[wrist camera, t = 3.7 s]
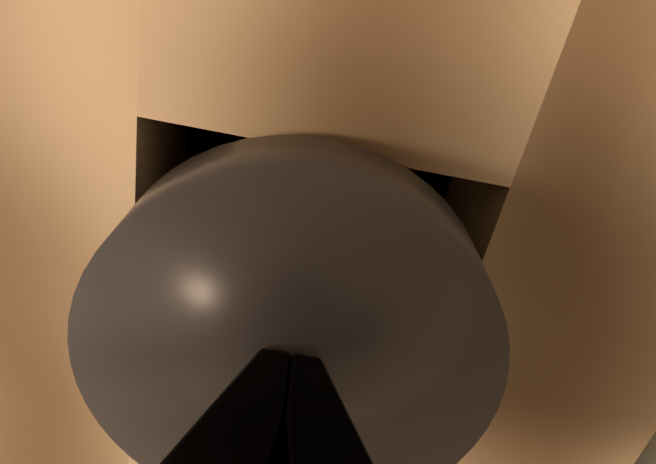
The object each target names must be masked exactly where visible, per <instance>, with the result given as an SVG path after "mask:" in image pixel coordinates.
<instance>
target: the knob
mask: <svg viewBox="0 0 656 464" xmlns="http://www.w3.org/2000/svg"><path fill="white" fill-rule="evenodd" d="M67 342H68V350H69V357H70V364H71V367H72V371H73V374H74V377H75V381H76V384H77V386H78V389H79V391H80V393H81V395H82V397H83V399H84V401H85V403H86V405H87V407H88V408H89V410H90V412H91V413H92V415H93V416H94V418H95V419H96V421H97V422H98V424H99V425H100V426H101V427H102V429H103V430H104V431H105V432H106V433H107V435H108V436H109V437H110V438H111V439H112V440H113V442H114V443H116V444H117V445H118V446H119V447H120V448H121V449H122V450H123V451H124V452H125V453H126V454H127V455H128V456H129V457H131V458H132V459H133V460H135V461H136V462H137V463H139V464H159V463H160V462H161V461H162V460H163V459H164V458H165V457H166V455H167V454H168V453H169V452H170V451H171V450H172V449H173V447H174V446H175V445H176V444H177V443H178V442H179V441H180V439H181V438H182V437H183V436H184V435H185V434H186V433H187V431H188V430H189V429H190V428H191V427H192V426H193V425H194V423H195V422H196V421H197V420H198V419H199V418H200V417H201V415H202V414H203V413H204V412H205V411H206V410H207V409H208V408H209V406H210V405H211V404H212V403H213V402H214V401H215V400H216V398H217V397H218V396H219V395H220V394H221V393H222V392H223V390H224V389H225V388H226V387H227V386H228V385H229V384H230V382H231V381H232V380H233V379H234V378H235V377H236V376H237V374H238V373H239V372H240V371H241V370H242V369H243V368H244V366H245V365H246V364H247V363H248V362H249V361H250V360H251V358H252V357H253V356H254V355H255V354H256V353H257V352H258V351H259V350H260V349H262V348H267V349H273V350H279V351H285V352H287V353H288V354H289V355H290V357H291V356H292V355H293V354H303V355H309V356H315V357H318V358H320V359H321V360H322V361H323V363H324V365H325V367H326V369H327V371H328V373H329V375H330V377H331V379H332V381H333V384H334V386H335V388H336V390H337V392H338V394H339V396H340V398H341V400H342V402H343V404H344V406H345V408H346V410H347V412H348V414H349V416H350V418H351V420H352V422H353V424H354V426H355V428H356V430H357V432H358V434H359V436H360V438H361V440H362V442H363V444H364V446H365V448H366V450H367V452H368V454H369V456H370V458H371V460H372V462H373V464H457V463H458V462H459V461H460V460H461V459H462V458H463V457H464V456H465V455H466V454H467V453H468V452H469V451H470V450H471V449H472V448H473V447H474V446H475V444H476V443H477V442H478V441H479V439H480V438H481V437H482V435H483V434H484V433H485V431H486V430H487V429H488V427H489V425H490V423H491V421H492V420H493V418H494V416H495V414H496V413H497V411H498V408H499V405H500V403H501V400H502V397H503V395H504V392H505V389H506V383H507V378H508V373H509V366H510V343H509V336H508V330H507V323H506V319H505V316H504V313H503V310H502V307H501V305H500V302H499V299H498V296H497V294H496V292H495V290H494V287H493V285H492V283H491V281H490V278H489V276H488V274H487V272H486V269H485V267H484V265H483V263H482V260H481V258H480V256H479V254H478V251H477V249H476V247H475V245H474V243H473V241H472V239H471V237H470V235H469V233H468V231H467V229H466V228H465V226H464V224H463V222H462V221H461V220H460V218H459V217H458V216H457V214H456V213H455V212H454V210H453V209H452V208H451V206H450V205H449V204H448V203H447V202H446V201H445V200H444V199H443V198H442V197H441V196H440V195H439V194H438V193H437V192H436V191H435V190H434V189H433V188H432V187H431V186H430V185H429V184H428V183H426V182H425V181H424V180H422V179H421V178H420V177H418V176H417V175H416V174H414V173H413V172H412V171H410V170H409V169H407V168H405V167H404V166H402V165H400V164H398V163H397V162H395V161H393V160H391V159H389V158H388V157H386V156H383V155H381V154H378V153H376V152H373V151H371V150H368V149H366V148H363V147H361V146H358V145H354V144H350V143H346V142H342V141H339V140H335V139H330V138H322V137H315V136H307V135H270V136H262V137H254V138H247V139H242V140H238V141H235V142H231V143H227V144H223V145H220V146H217V147H214V148H212V149H209V150H207V151H205V152H202V153H200V154H198V155H195V156H193V157H191V158H190V159H188V160H186V161H185V162H183V163H181V164H179V165H178V166H176V167H174V168H173V169H171V170H170V171H169V172H167V173H166V174H165V175H164V176H162V177H161V178H160V179H159V180H158V181H156V182H155V183H154V184H153V185H152V186H151V187H150V188H149V189H148V190H147V191H146V192H145V193H144V194H143V196H142V197H141V198H140V199H139V200H138V201H137V202H136V203H135V205H134V206H133V207H132V208H131V209H130V211H129V212H128V213H127V214H126V215H125V217H124V218H123V219H122V220H121V222H120V223H119V224H118V225H117V226H116V228H115V229H114V230H113V231H112V232H111V234H110V235H109V236H108V237H107V238H106V240H105V241H104V242H103V243H102V245H101V246H100V247H99V248H98V249H97V251H96V252H95V254H94V255H93V257H92V258H91V260H90V261H89V263H88V265H87V266H86V268H85V269H84V271H83V273H82V275H81V277H80V280H79V282H78V285H77V287H76V290H75V292H74V294H73V298H72V303H71V308H70V312H69V317H68V337H67Z"/></svg>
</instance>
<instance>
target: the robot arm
mask: <svg viewBox="0 0 656 464" xmlns="http://www.w3.org/2000/svg"><path fill="white" fill-rule="evenodd" d="M159 464H373V462H372V460H371V458H370V456H369V454H368V452H367V450H366V448H365V446H364V444H363V442H362V440H361V438H360V436H359V434H358V432H357V430H356V428H355V426H354V424H353V422H352V420H351V418H350V416H349V414H348V412H347V410H346V408H345V406H344V404H343V402H342V400H341V398H340V396H339V394H338V392H337V390H336V388H335V386H334V384H333V381H332V379H331V377H330V375H329V373H328V371H327V369H326V367H325V365H324V363H323V361H322V360H321V359H320V358H318V357H315V356H309V355H303V354H293V355H292V356H291V357H290V355H289V354H288V353H287V352H285V351H279V350H273V349H267V348H262V349H260V350H259V351H258V352H257V353H256V354H255V355H254V356H253V357H252V358H251V360H250V361H249V362H248V363H247V364H246V365H245V366H244V368H243V369H242V370H241V371H240V372H239V373H238V374H237V376H236V377H235V378H234V379H233V380H232V381H231V382H230V384H229V385H228V386H227V387H226V388H225V389H224V390H223V392H222V393H221V394H220V395H219V396H218V397H217V398H216V400H215V401H214V402H213V403H212V404H211V405H210V406H209V408H208V409H207V410H206V411H205V412H204V413H203V414H202V415H201V417H200V418H199V419H198V420H197V421H196V422H195V423H194V425H193V426H192V427H191V428H190V429H189V430H188V431H187V433H186V434H185V435H184V436H183V437H182V438H181V439H180V441H179V442H178V443H177V444H176V445H175V446H174V447H173V449H172V450H171V451H170V452H169V453H168V454H167V455H166V457H165V458H164V459H163V460H162V461H161V462H160V463H159Z"/></svg>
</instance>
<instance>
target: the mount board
mask: <svg viewBox="0 0 656 464" xmlns="http://www.w3.org/2000/svg"><path fill="white" fill-rule="evenodd" d="M188 126H189V127H195V128H200V129H205V130H210V131H216V132H221V133H226V134H232V135H237V136H242V137H247V138H254V137H262V136H270V135H307V136H315V137H322V138H330V139H335V140H339V141H342V142H346V143H350V144H354V145H358V146H361V147H363V148H366V149H368V150H371V151H373V152H376V153H378V154H381V155H383V156H386V157H388V158H389V159H391V160H393V161H395V162H397V163H398V164H400V165H402V166H404V167H405V168H410V169H416V170H421V171H426V172H431V173H437V174H442V175H447V176H452V179H451V182H450V185H449V188H448V191H447V194H446V197H445V201H446V202H447V203H448V204H449V205H450V206H451V208H452V209H453V210H454V212H455V213H456V214H457V216H458V217H459V218H460V220H461V221H462V222H463V224H464V226H465V228H466V229H467V231H468V233H469V235H470V237H471V239H472V241H473V243H474V245H475V247H476V249H477V251H478V254H479V256H480V258H481V260H482V263H483V265H484V267H485V269H486V272H487V274H488V276H489V278H490V281H491V283H492V285H493V287H494V290H495V292H496V294H497V296H498V299H499V302H500V305H501V307H502V310H503V313H504V316H505V319H506V323H507V330H508V336H509V343H510V366H509V373H508V378H507V383H506V389H505V392H504V395H503V397H502V400H501V403H500V405H499V408H498V411H497V413H496V414H495V416H494V418H493V420H492V421H491V423H490V425H489V427H488V429H487V430H486V431H485V433H484V434H483V435H482V437H481V438H480V439H479V441H478V442H477V443H476V444H475V446H474V447H473V448H472V449H471V450H470V451H469V452H468V453H467V454H466V455H465V456H464V457H463V458H462V459H461V460H460V461H459V462H458V463H457V464H634V463H635V462H636V460H637V459H638V457H639V456H640V454H641V453H642V451H643V450H644V448H645V447H646V445H647V444H648V442H649V441H650V439H651V438H652V436H653V435H654V433H655V432H656V0H0V464H139V463H137V462H136V461H135V460H133V459H132V458H131V457H129V456H128V455H127V454H126V453H125V452H124V451H123V450H122V449H121V448H120V447H119V446H118V445H117V444H116V443H114V442H113V440H112V439H111V438H110V437H109V436H108V435H107V433H106V432H105V431H104V430H103V429H102V427H101V426H100V425H99V424H98V422H97V421H96V419H95V418H94V416H93V415H92V413H91V412H90V410H89V408H88V407H87V405H86V403H85V401H84V399H83V397H82V395H81V393H80V391H79V389H78V386H77V384H76V381H75V377H74V374H73V371H72V367H71V364H70V357H69V350H68V342H67V337H68V317H69V312H70V308H71V303H72V298H73V294H74V292H75V290H76V287H77V285H78V282H79V280H80V277H81V275H82V273H83V271H84V269H85V268H86V266H87V265H88V263H89V261H90V260H91V258H92V257H93V255H94V254H95V252H96V251H97V249H98V248H99V247H100V246H101V245H102V243H103V242H104V241H105V240H106V238H107V237H108V236H109V235H110V234H111V232H112V231H113V230H114V229H115V228H116V226H117V225H118V224H119V223H120V222H121V220H122V219H123V218H124V217H125V215H126V214H127V213H128V212H129V211H130V209H131V208H132V207H133V206H134V205H135V203H136V202H137V201H138V200H139V199H140V198H141V197H142V196H143V194H144V193H145V192H146V191H147V190H148V189H149V188H150V187H151V186H152V185H153V184H154V183H155V182H156V181H158V180H159V179H160V178H161V177H162V176H164V175H165V174H166V173H167V172H169V171H170V170H171V169H173V168H174V167H176V166H178V165H179V164H181V163H183V162H185V157H186V143H187V128H188Z"/></svg>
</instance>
